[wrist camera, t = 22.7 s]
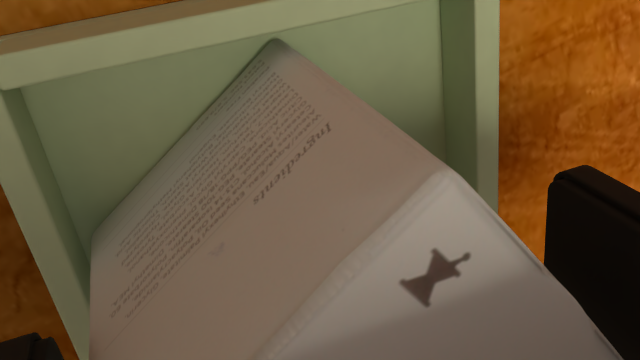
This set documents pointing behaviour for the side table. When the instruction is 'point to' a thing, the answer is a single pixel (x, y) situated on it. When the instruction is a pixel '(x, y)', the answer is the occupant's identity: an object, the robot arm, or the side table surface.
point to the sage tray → (205, 88)
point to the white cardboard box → (317, 244)
